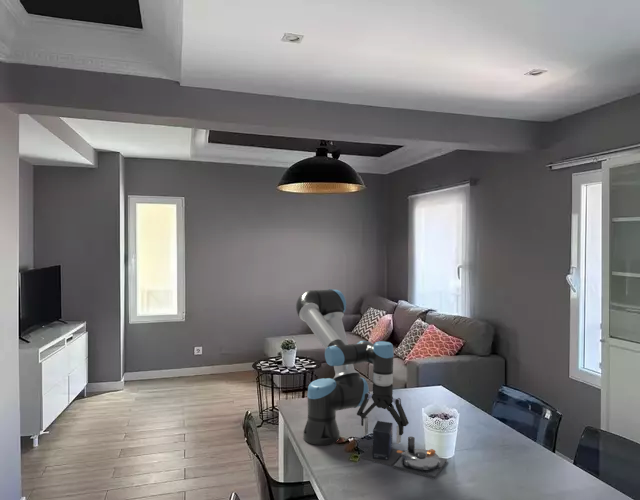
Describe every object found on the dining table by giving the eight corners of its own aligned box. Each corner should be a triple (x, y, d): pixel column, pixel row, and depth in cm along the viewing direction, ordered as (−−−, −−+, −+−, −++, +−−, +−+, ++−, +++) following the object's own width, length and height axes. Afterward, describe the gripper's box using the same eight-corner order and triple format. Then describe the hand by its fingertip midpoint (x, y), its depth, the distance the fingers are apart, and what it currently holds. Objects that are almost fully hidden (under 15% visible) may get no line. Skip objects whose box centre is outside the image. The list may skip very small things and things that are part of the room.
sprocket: (419, 473, 158) (419, 454, 158) (393, 458, 170) (393, 440, 170) (448, 463, 166) (448, 445, 166) (422, 450, 177) (422, 432, 177)
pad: (359, 457, 173) (359, 456, 173) (373, 445, 184) (373, 443, 184) (392, 466, 166) (392, 464, 166) (404, 452, 178) (404, 450, 178)
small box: (389, 461, 169) (389, 432, 169) (371, 458, 171) (371, 430, 171) (393, 449, 180) (393, 422, 179) (376, 446, 181) (376, 420, 181)
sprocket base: (393, 468, 165) (393, 465, 165) (408, 452, 178) (408, 449, 178) (435, 479, 157) (435, 476, 157) (446, 461, 170) (446, 459, 170)
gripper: (349, 380, 178) (348, 434, 179) (410, 392, 166) (409, 450, 166) (357, 375, 185) (356, 427, 185) (417, 386, 172) (416, 442, 173)
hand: (381, 438), depth 176 cm, fingers open, 13 cm apart
